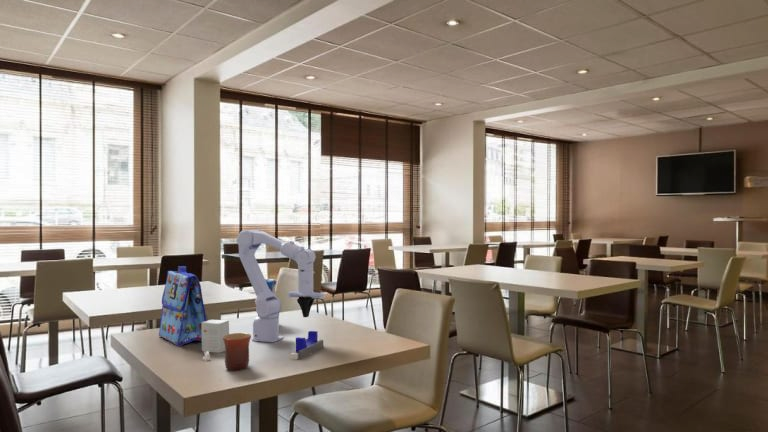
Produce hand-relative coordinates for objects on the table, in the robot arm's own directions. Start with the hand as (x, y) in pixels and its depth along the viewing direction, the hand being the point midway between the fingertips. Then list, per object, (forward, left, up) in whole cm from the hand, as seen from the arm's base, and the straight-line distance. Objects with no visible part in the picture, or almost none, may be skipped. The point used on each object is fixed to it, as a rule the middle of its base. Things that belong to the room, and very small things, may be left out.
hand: (305, 316), depth 197 cm
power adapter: (-22, -32, -11) cm, 40 cm away
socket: (+7, -12, -10) cm, 17 cm away
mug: (-6, -35, -10) cm, 37 cm away
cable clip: (+5, -11, -10) cm, 16 cm away
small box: (-26, -20, -10) cm, 34 cm away
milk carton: (-31, +22, -10) cm, 39 cm away
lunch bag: (-49, -9, -10) cm, 51 cm away
